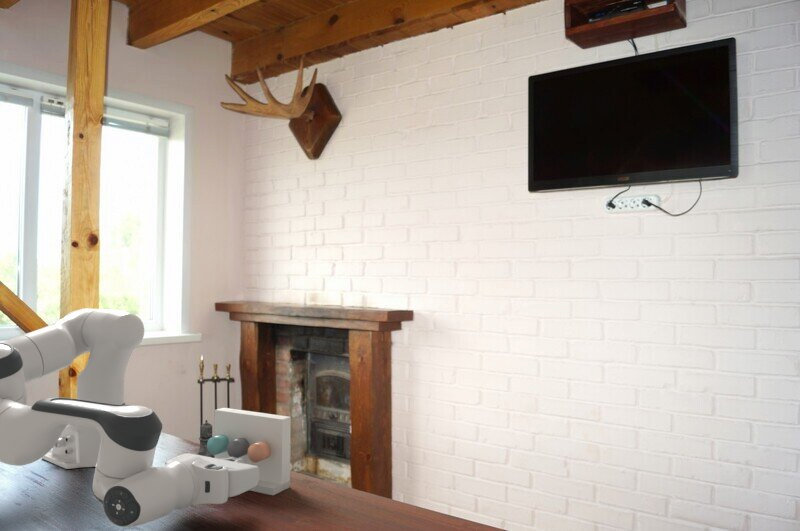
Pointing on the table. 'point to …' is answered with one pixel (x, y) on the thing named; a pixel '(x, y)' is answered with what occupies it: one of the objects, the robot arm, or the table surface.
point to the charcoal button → (238, 447)
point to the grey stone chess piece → (205, 439)
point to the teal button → (217, 444)
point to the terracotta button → (259, 451)
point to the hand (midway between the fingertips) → (238, 461)
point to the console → (256, 430)
